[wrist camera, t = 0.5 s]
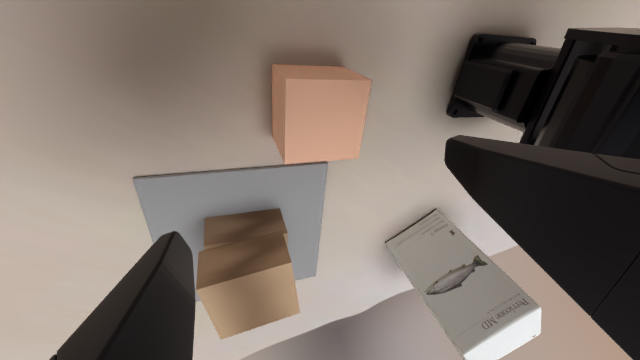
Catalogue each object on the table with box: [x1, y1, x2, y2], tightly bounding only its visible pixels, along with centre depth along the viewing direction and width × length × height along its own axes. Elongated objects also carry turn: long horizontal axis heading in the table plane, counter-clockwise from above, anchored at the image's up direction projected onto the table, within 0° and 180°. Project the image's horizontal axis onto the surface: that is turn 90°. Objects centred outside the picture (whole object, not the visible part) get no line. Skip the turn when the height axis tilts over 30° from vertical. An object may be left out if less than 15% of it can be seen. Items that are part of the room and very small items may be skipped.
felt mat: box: [133, 162, 328, 302], centre depth 24 cm, size 14×14×1 cm
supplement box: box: [386, 209, 541, 360], centre depth 28 cm, size 7×7×13 cm
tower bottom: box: [204, 208, 288, 250], centre depth 23 cm, size 6×6×3 cm
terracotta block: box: [272, 64, 372, 164], centre depth 18 cm, size 5×5×4 cm
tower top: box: [196, 230, 300, 339], centre depth 20 cm, size 6×6×3 cm
